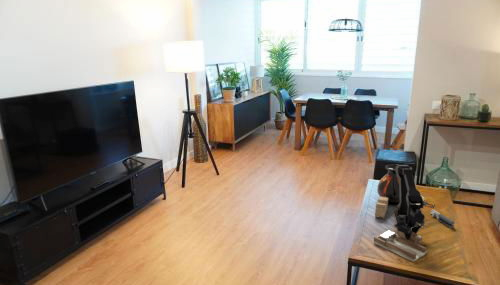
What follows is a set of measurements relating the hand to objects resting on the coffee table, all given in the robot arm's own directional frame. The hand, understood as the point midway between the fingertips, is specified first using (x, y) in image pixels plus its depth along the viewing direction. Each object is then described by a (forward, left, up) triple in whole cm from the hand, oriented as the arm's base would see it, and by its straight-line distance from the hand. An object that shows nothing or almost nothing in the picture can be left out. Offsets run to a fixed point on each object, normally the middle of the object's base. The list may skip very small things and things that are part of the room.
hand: (409, 238), depth 202 cm
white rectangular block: (+12, -7, 0) cm, 14 cm away
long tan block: (0, 0, -1) cm, 1 cm away
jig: (+12, +1, -1) cm, 12 cm away
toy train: (-16, -30, -1) cm, 34 cm away
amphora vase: (-38, -36, -1) cm, 52 cm away
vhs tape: (-57, -19, -2) cm, 60 cm away
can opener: (-38, 0, -2) cm, 38 cm away
